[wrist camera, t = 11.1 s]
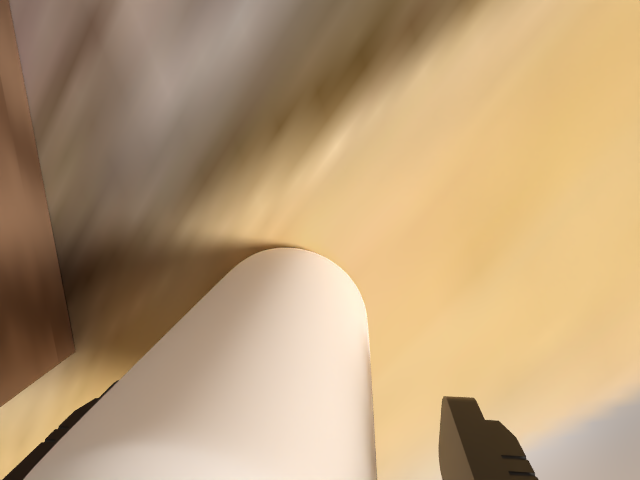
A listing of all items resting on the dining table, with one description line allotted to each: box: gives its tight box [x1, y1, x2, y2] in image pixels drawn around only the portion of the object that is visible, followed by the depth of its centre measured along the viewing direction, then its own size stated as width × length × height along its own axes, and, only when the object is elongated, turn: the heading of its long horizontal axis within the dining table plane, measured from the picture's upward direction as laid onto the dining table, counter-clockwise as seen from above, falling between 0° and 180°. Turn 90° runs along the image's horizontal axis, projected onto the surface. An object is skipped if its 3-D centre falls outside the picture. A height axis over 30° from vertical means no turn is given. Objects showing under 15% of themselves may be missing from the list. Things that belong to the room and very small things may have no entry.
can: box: [23, 248, 377, 480], centre depth 10 cm, size 6×6×12 cm
